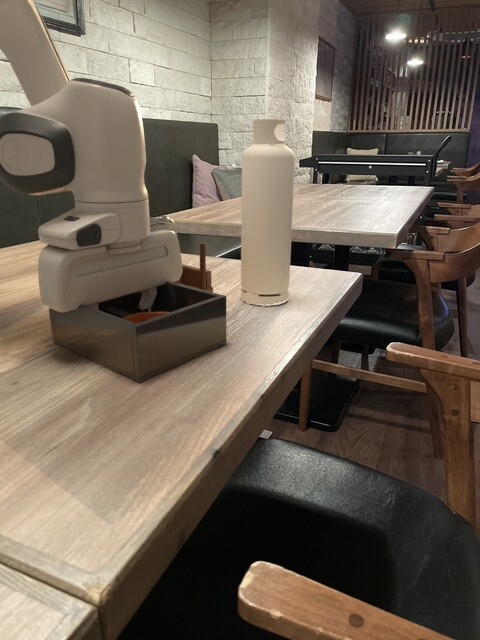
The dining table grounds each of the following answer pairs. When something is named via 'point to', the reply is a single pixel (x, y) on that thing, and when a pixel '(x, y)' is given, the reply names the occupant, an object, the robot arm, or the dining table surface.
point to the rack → (197, 273)
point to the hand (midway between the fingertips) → (122, 326)
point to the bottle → (266, 214)
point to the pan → (133, 317)
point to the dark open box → (145, 331)
